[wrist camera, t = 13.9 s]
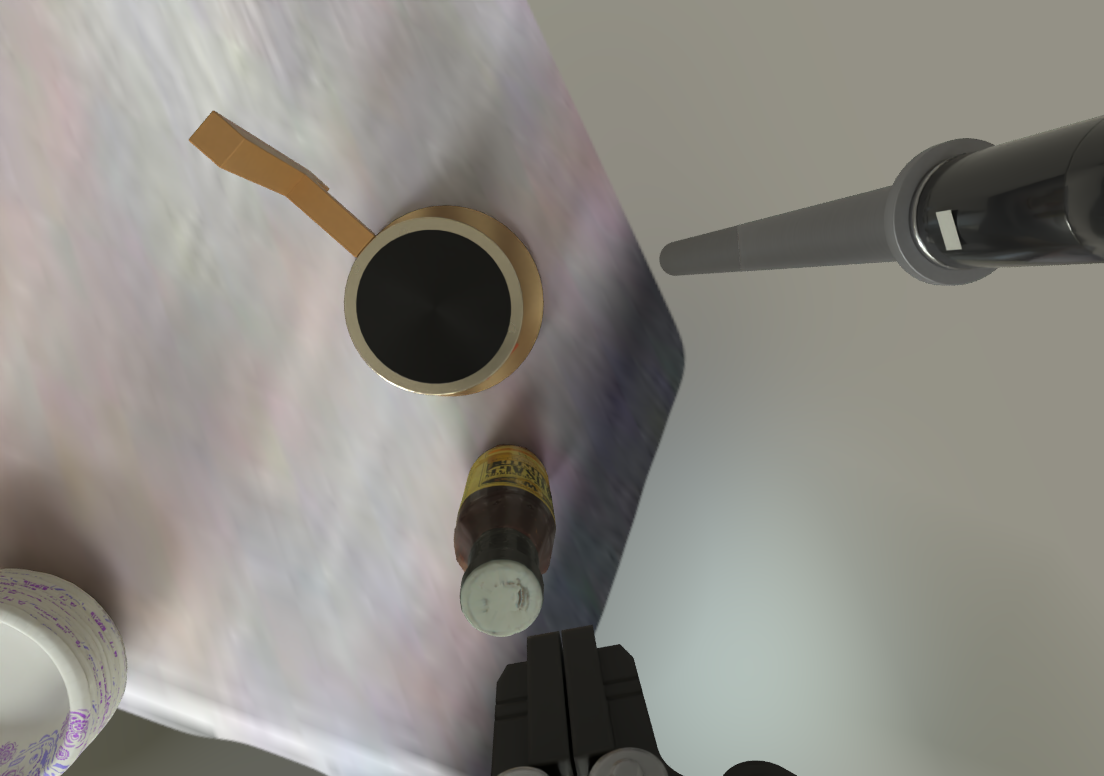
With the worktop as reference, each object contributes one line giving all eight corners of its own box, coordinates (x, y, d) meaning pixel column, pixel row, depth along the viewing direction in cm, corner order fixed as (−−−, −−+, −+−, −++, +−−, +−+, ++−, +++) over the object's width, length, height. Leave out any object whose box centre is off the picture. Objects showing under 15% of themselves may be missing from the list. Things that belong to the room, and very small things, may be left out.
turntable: (527, 194, 45) (528, 192, 45) (555, 379, 48) (556, 380, 47) (337, 221, 45) (334, 220, 44) (374, 408, 47) (372, 410, 46)
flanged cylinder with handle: (546, 300, 46) (581, 309, 27) (457, 399, 47) (432, 473, 28) (373, 140, 43) (280, 29, 24) (281, 247, 44) (122, 218, 25)
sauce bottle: (561, 463, 49) (604, 580, 29) (520, 529, 50) (536, 685, 30) (489, 423, 48) (485, 516, 28) (449, 490, 49) (418, 626, 29)
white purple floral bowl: (16, 509, 46) (-82, 555, 38) (191, 625, 48) (133, 690, 41) (-103, 658, 47) (-222, 733, 39) (75, 763, 49) (-3, 853, 42)
